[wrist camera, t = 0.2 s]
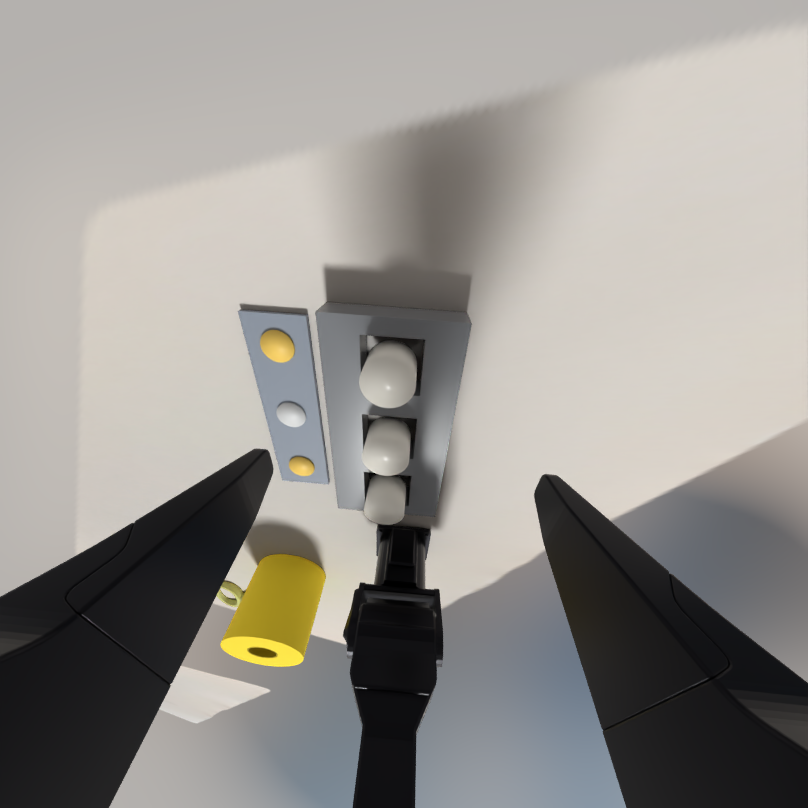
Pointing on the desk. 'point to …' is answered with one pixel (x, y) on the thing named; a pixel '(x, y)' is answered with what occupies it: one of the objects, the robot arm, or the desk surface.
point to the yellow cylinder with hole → (276, 612)
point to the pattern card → (288, 391)
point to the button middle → (387, 446)
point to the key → (234, 590)
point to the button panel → (429, 406)
